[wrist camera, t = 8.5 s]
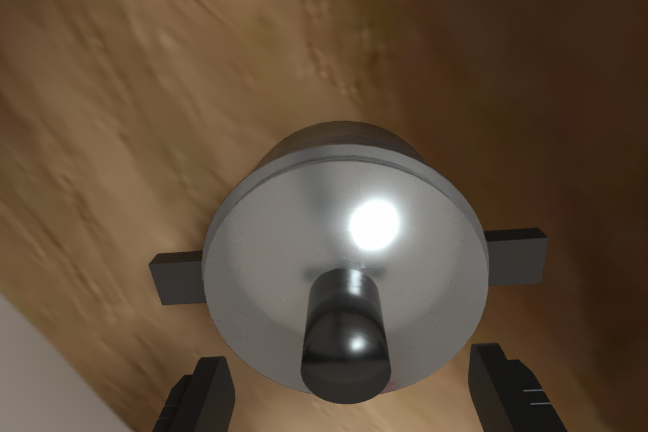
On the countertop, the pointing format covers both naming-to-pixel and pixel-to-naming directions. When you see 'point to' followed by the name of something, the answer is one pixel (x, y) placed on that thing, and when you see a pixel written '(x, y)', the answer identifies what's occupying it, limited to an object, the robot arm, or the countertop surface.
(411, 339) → the lid
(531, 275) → the pot
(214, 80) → the countertop surface
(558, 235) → the countertop surface
